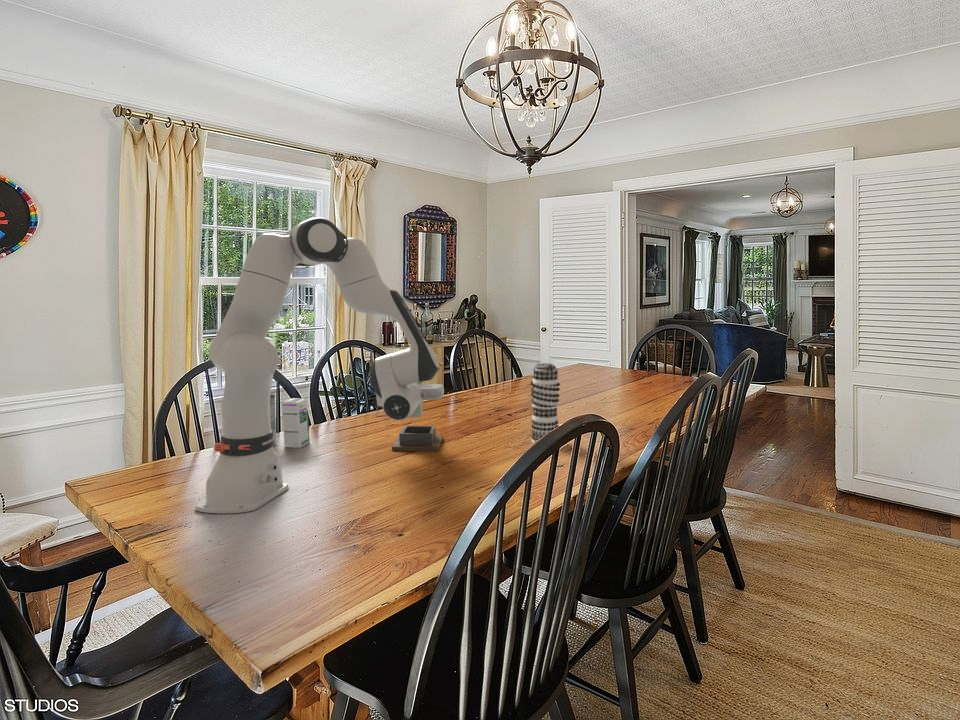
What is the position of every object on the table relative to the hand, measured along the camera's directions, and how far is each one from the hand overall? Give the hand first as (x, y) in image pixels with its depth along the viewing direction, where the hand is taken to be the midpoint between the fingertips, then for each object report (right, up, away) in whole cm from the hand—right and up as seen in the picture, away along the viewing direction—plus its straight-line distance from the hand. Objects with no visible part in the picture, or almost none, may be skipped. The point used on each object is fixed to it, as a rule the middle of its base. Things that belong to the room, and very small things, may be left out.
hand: (413, 386), depth 179 cm
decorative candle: (+41, -18, +3) cm, 45 cm away
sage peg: (0, -9, 0) cm, 9 cm away
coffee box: (-49, -19, +1) cm, 52 cm away
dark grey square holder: (+1, -18, +1) cm, 18 cm away
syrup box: (-37, -19, +1) cm, 41 cm away
